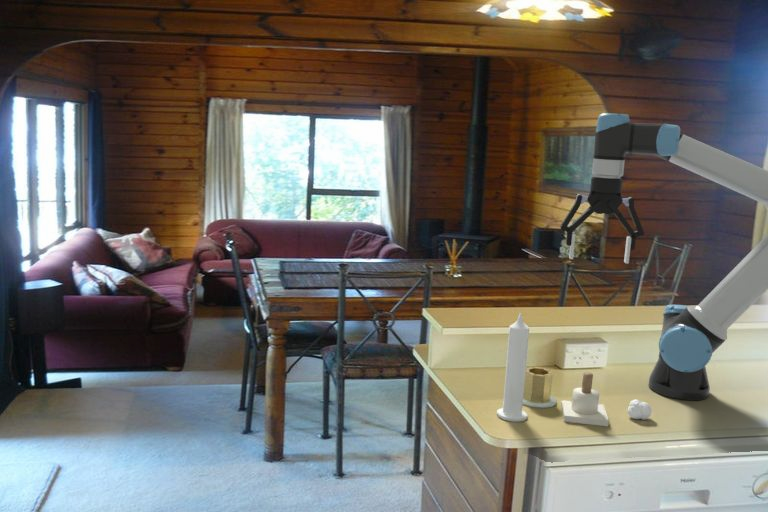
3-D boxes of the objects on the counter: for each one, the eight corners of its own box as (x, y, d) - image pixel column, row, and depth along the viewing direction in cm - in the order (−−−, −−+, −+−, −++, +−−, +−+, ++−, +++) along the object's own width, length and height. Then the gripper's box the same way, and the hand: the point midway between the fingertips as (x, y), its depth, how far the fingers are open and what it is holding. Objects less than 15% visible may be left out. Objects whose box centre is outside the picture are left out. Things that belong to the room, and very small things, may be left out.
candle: (520, 424, 170) (529, 318, 166) (491, 416, 174) (500, 313, 169) (531, 415, 176) (540, 312, 171) (503, 407, 180) (512, 307, 175)
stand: (602, 410, 181) (607, 369, 179) (608, 426, 171) (612, 383, 170) (561, 405, 183) (565, 365, 181) (563, 421, 173) (568, 378, 171)
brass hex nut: (549, 395, 188) (551, 368, 187) (550, 404, 182) (553, 377, 180) (522, 392, 189) (525, 365, 188) (523, 401, 183) (525, 374, 181)
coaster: (555, 395, 190) (555, 393, 190) (557, 410, 180) (557, 407, 180) (515, 391, 191) (515, 389, 191) (515, 405, 181) (516, 403, 181)
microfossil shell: (630, 401, 175) (654, 406, 174) (627, 394, 180) (650, 399, 179) (627, 419, 176) (651, 424, 175) (623, 412, 181) (647, 416, 180)
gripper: (656, 178, 186) (646, 261, 190) (555, 172, 190) (547, 254, 194) (662, 180, 179) (652, 267, 182) (556, 174, 182) (549, 259, 186)
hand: (598, 260), depth 188 cm, fingers open, 13 cm apart
